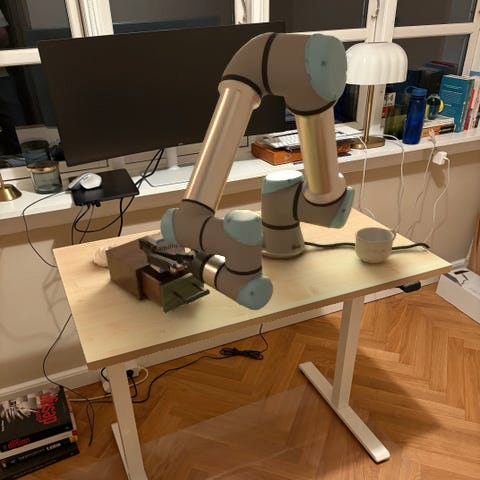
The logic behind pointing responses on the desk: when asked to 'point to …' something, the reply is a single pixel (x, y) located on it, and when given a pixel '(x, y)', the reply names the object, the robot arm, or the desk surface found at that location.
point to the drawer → (171, 288)
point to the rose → (102, 256)
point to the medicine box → (163, 246)
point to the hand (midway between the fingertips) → (155, 237)
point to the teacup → (374, 244)
